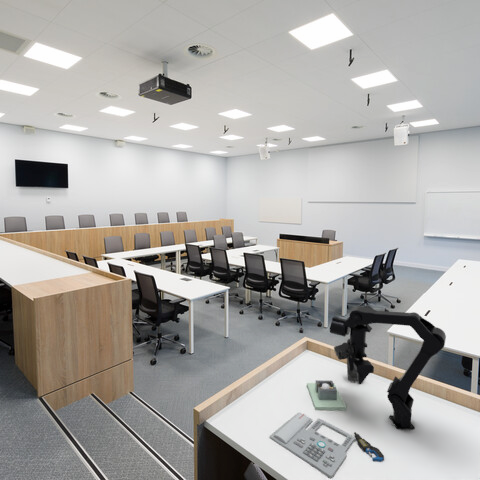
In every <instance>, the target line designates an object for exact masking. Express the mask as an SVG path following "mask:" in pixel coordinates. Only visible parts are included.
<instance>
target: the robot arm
mask: <svg viewBox="0 0 480 480" xmlns="http://www.w3.org/2000/svg"><path fill="white" fill-rule="evenodd" d="M372 324H381V325H382V324H384V325H396V326H407V327H409V326H410V327H411V329H412V330H414V332H415V333H416V334H417V335H418V336H419V338H420V339H421V340H422V344H421V347H420V349H419V350H418V351H417V353H416V354H415V356H414V358H413V359H412V361H411V362H410V364H409V366H408V367H407V369H406V370H405V372H404V373H403V374H402V375H401V376H400V378H398V377H397V376H394V379H393V381H391V382H390V383H389V386H388V388H387V391H386V393H387V400H388V401H389V403H390V404H391V408H392V410H393V415H388V418H389V419H390V421H391V422H392V424H393V425H394V427H395V428H396V429H397V430H415V429H416V428H415V425H414V424H413V423H412V417H413V415H412V410H413V409H412V408H413V404H414V401H415V400H414V398H413V396H412V395H411V394H410V390H411V387H412V386H413V384H414V383H415V382H416V380H417V378H418V377H419V375H420V374H421V373H422V371H423V369H424V368H425V367H426V365H427V364H428V362H429V361H430V359H431V358H433V357H434V356H436V355H438V353H439V352H440V351H442V349H443V348H444V347H445V346H446V345H445V344H446V340H447V339H446V338H447V335H446V333H445V331H444V330H443V329H441V328H439V327H436V326H435V325H434V324H433V323H431V322H430V321H429V320H427V319H425V318H424V317H422V316H421V315H420V314H419V313H417V312H413V311H412V312H403V311H402V312H401V311H386V310H376V309H373V308H371V307H367V306H362V305H359V306H356V307H355V308H354V309H353V310H352V311H351V312H350V313H349V316H348V317H347V319H345V318H341V317H338V316H335V315H334V316H333V317H332V319H331V322H330V326H329V333H330V334H333V335H337V336H340V337H345V338H346V337H347V336H348V335H349V338H348V339H347V340H346V342H343V343H342V344H339V345H335V346H334V347H333V349H334V353H335V356H336V357H337V359H338V360H339V361H340V360H347V359H348V364H349V368H350V371H353V369H354V370H355V371H356V372H357V378H358V381H357V384H358V385H362V384H363V382H364V381H365V380H366V378H367V377H368V376H369V375H370V374H373V373H374V372H375V367H374V365H373V364H372V363H371V362H370V361H369V360H368V359H364V358H367V357H368V356H367V354H366V348H368V344H367V343H366V339H367V333H371V331H372V330H373V328H372V326H370V325H372Z"/></svg>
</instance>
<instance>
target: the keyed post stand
mask: <svg viewBox="0 0 480 480" xmlns="http://www.w3.org/2000/svg"><path fill="white" fill-rule="evenodd" d="M306 387H307V390H308V393H309V395H310V399H311V402H312V404H313V407H314V409H315V411H347V405H346V404H345V402H344V400H343V399H344V398H342V396H341V394H340V391H339V390H338V388H337V386H336V384H335V383H334V387H336V390H337V400H319V398H318V393H316V390H315V382H307V383H306ZM321 389H333V387H330V385H329V384H327V383H323V384H322V387H321Z"/></svg>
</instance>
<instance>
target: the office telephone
mask: <svg viewBox="0 0 480 480" xmlns="http://www.w3.org/2000/svg"><path fill="white" fill-rule="evenodd" d="M311 424H312V425H311ZM321 426H325V427H326V428H329V429H331V430H333V431H335V432H336V433H338V434H340V435H341V436H344V437H345V440H344V441H343V442H342V443H341V444H339V443H338V442H336V441H334V440H332V439H330V438H328V437H326V436H325V435H323V434H321V433H319V432H318V430H319V429H320V428H321ZM269 439H270V440H272V441H274V442H275V443H276V444H278V445H279V446H281V447H283V448H284V449H286V450H287V451H289V452H290V453H292V454H293V455H295V456H296V457H298V458H299V459H301V460H303V461H304V462H305V463H307V464H309V465H310V466H312V467H314V468H315V469H316V470H318V471H319V472H321V473H322V474H323V475H325V476H326V477H328V478H329V479H333V477H334V476H335V475H336V473H337V472H338V470H339V469H340V467H341V466H342V464H343V463H344V462H345V460H346V458H347V452H348V451H349V449H350V447H351V446H352V445H353V443H354V442H356V441H357V440H356V438H355V435H353V434H350V433H348V432H347V431H345V430H343V429H341V428H339V427H338V426H335V425H333V424H331V423H330V422H327V421H325V420H323V419H322V418H320V417H319V418H317V419H316V420H315V421H314V423H313V418H312V417H311V418H310V417H309V416H308V415H306V414H305V413H302V412H297V413H296V414H295V415H293V416H292V417H291V418H290V419H288V420H287V421H286V422H284V423H283V424H282V425H281V426H280V427H278V429H276V430H274V432H273V433H271V434H269Z"/></svg>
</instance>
